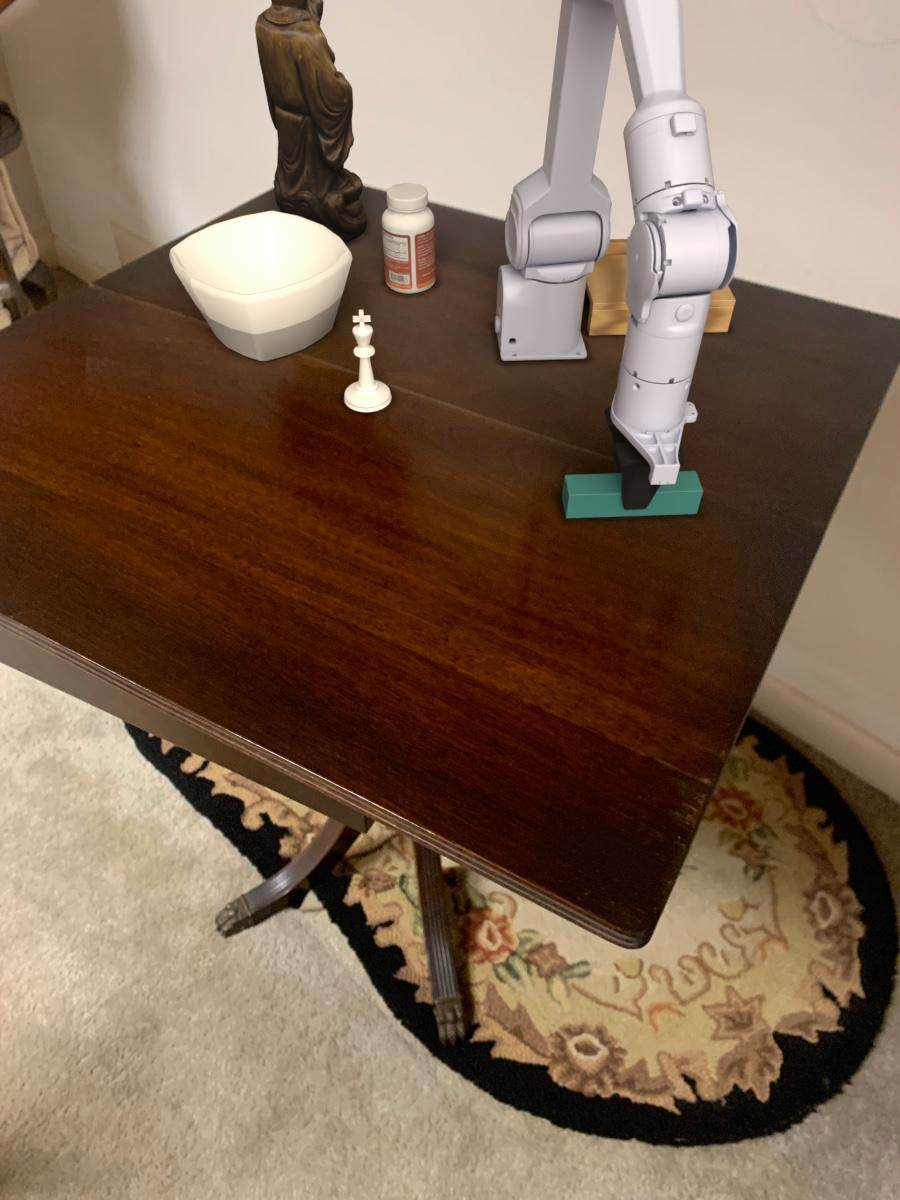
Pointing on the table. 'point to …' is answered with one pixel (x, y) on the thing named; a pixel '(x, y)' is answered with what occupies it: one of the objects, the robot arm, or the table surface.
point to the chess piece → (365, 373)
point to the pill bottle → (408, 239)
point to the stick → (605, 498)
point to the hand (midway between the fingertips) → (631, 494)
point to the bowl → (265, 281)
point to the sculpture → (309, 118)
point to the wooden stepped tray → (610, 296)
